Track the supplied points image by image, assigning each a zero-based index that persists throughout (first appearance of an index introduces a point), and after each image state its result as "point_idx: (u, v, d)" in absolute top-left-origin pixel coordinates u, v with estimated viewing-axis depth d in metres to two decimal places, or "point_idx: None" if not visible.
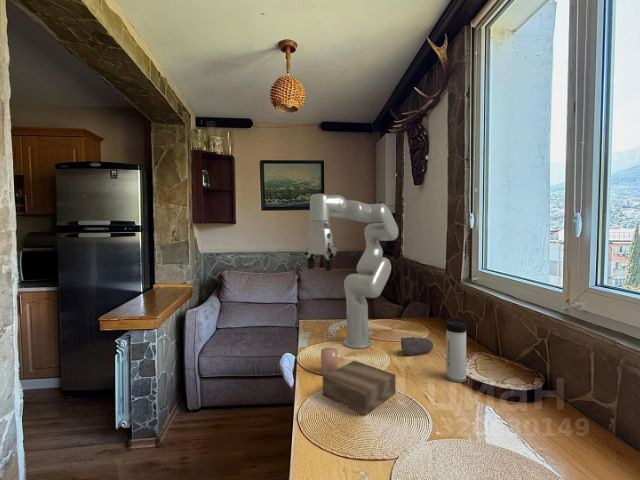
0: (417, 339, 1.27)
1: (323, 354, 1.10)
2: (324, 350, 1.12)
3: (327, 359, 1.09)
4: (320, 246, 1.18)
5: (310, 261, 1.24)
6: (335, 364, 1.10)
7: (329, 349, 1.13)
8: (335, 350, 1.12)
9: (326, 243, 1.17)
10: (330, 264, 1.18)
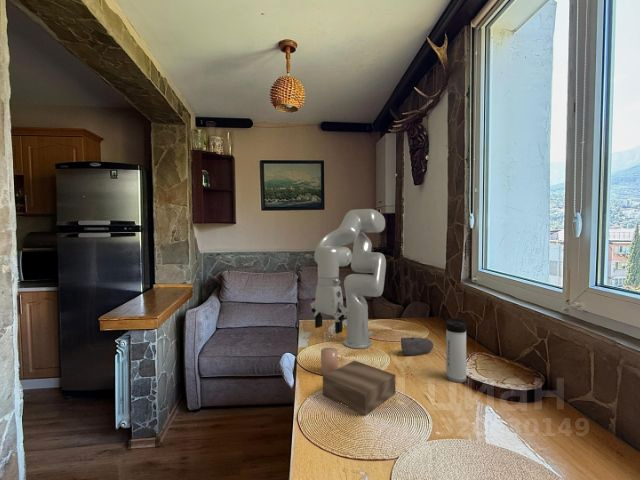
0: (417, 339, 1.27)
1: (323, 354, 1.10)
2: (324, 350, 1.12)
3: (327, 359, 1.09)
4: (329, 306, 1.08)
5: (318, 319, 1.14)
6: (335, 364, 1.10)
7: (329, 349, 1.13)
8: (335, 350, 1.12)
9: (336, 303, 1.07)
10: (340, 326, 1.07)
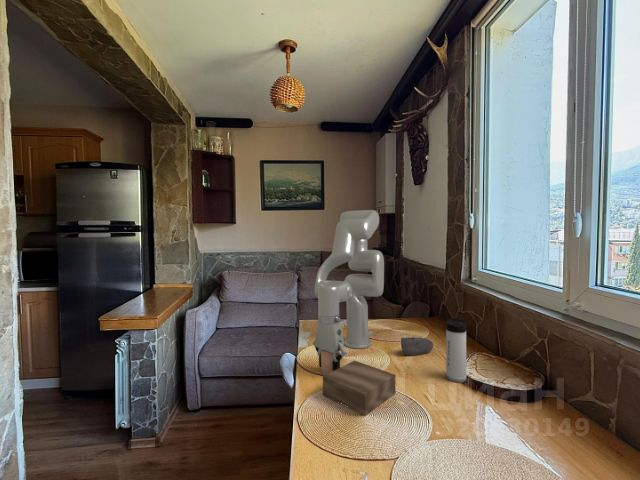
0: (417, 339, 1.27)
1: (323, 354, 1.10)
2: None
3: (327, 359, 1.09)
4: (330, 344, 1.08)
5: None
6: None
7: None
8: None
9: (336, 341, 1.07)
10: (338, 365, 1.09)
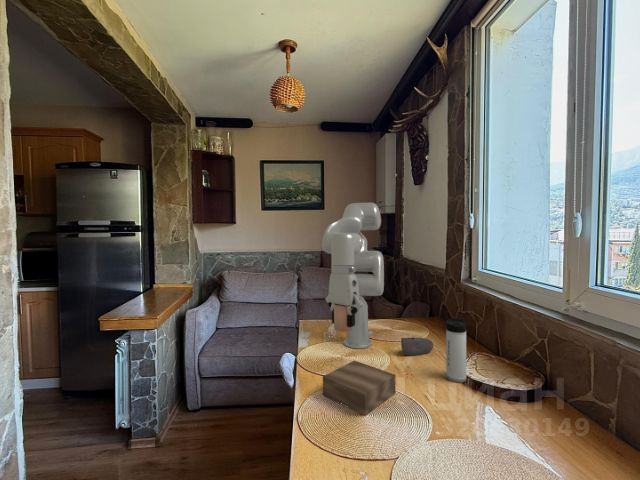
0: (417, 339, 1.27)
1: (336, 307, 1.01)
2: (337, 304, 1.03)
3: (340, 312, 1.00)
4: (344, 296, 0.99)
5: None
6: None
7: None
8: None
9: (351, 293, 0.99)
10: (353, 319, 1.00)
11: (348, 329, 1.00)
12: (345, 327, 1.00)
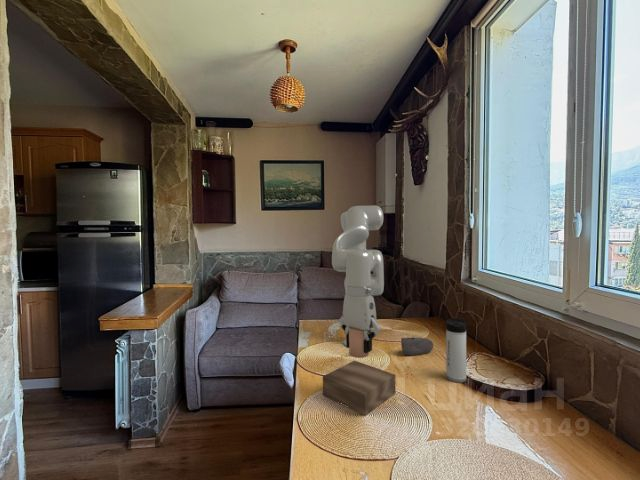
0: (417, 339, 1.27)
1: (352, 332, 0.94)
2: (352, 328, 0.96)
3: (357, 337, 0.93)
4: (361, 319, 0.92)
5: None
6: None
7: None
8: None
9: (369, 316, 0.92)
10: (370, 345, 0.93)
11: (365, 355, 0.94)
12: (362, 353, 0.93)
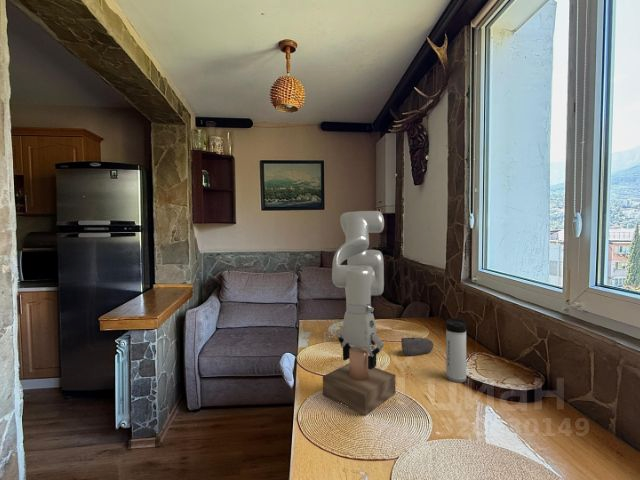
0: (417, 339, 1.27)
1: (353, 353, 0.94)
2: (353, 349, 0.97)
3: (357, 359, 0.94)
4: (361, 337, 0.93)
5: (346, 350, 0.99)
6: (366, 365, 0.94)
7: (358, 347, 0.98)
8: (366, 349, 0.96)
9: (369, 334, 0.92)
10: (374, 361, 0.92)
11: (365, 377, 0.94)
12: (362, 375, 0.94)
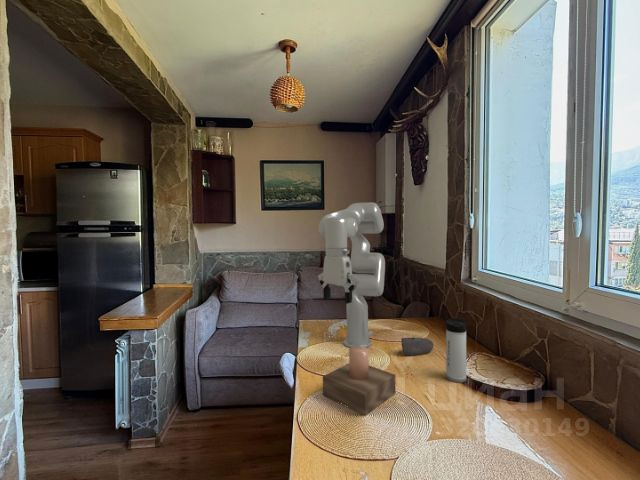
0: (418, 339, 1.27)
1: (352, 354, 0.94)
2: (353, 349, 0.97)
3: (357, 359, 0.93)
4: (338, 276, 1.06)
5: (326, 291, 1.12)
6: (366, 365, 0.94)
7: (358, 347, 0.98)
8: (365, 349, 0.96)
9: (345, 273, 1.05)
10: (350, 296, 1.06)
11: (365, 377, 0.94)
12: (362, 375, 0.94)
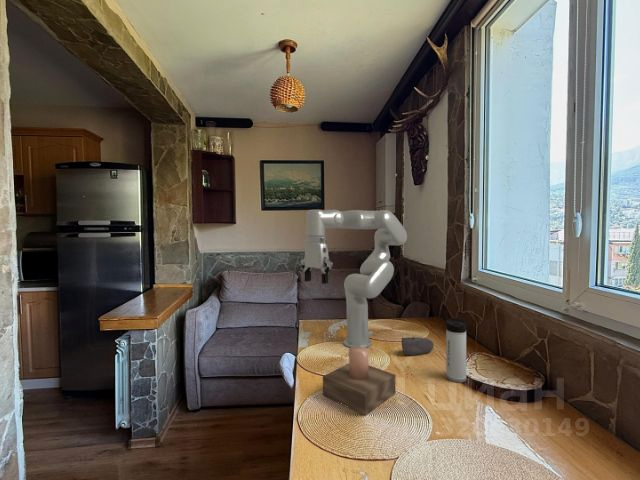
0: (418, 339, 1.27)
1: (352, 354, 0.94)
2: (353, 349, 0.97)
3: (357, 359, 0.93)
4: (316, 260, 1.23)
5: (307, 274, 1.29)
6: (366, 365, 0.94)
7: (357, 348, 0.98)
8: (365, 349, 0.96)
9: (322, 257, 1.22)
10: (326, 277, 1.22)
11: (365, 377, 0.94)
12: (362, 375, 0.94)
